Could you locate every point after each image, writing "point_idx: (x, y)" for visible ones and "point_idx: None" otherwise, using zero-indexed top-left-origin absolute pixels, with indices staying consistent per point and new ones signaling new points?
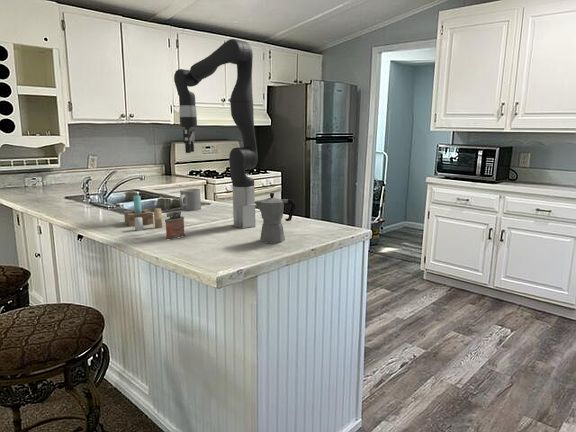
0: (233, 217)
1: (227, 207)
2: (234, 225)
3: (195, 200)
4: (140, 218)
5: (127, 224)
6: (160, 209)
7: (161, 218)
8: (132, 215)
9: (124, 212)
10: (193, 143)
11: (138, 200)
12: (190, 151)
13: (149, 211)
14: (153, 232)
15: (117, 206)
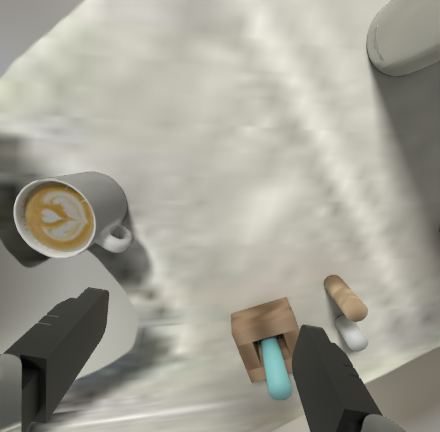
0: (415, 67)
1: (81, 72)
2: (408, 73)
3: (107, 193)
4: (364, 338)
5: None
6: (362, 303)
7: (347, 287)
8: None
9: (257, 379)
10: (16, 363)
11: (287, 376)
12: (325, 333)
13: (272, 324)
14: (382, 291)
15: None
